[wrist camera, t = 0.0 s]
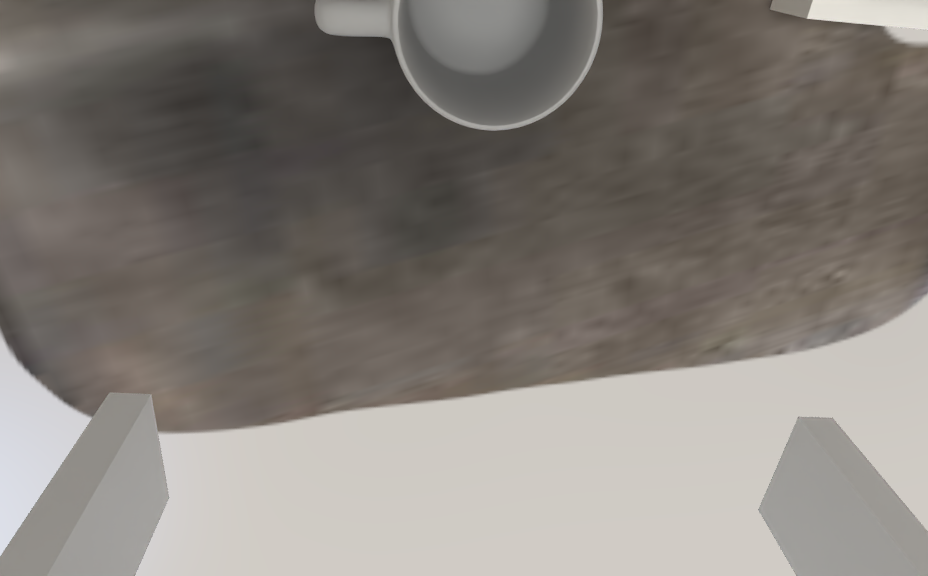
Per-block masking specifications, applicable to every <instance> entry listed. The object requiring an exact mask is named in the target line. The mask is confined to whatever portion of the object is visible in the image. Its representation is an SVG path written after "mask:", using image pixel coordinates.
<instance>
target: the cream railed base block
mask: <svg viewBox="0 0 928 576" xmlns="http://www.w3.org/2000/svg"><path fill="white" fill-rule="evenodd" d="M770 10H773V11H777V12H782V13H786V14H790V15H794V16H798V17H802V18H807V19H816V20H827V21H837V22H848V23H858V24H869V25H879V26H890V27H900V28H911V29H921V30H928V0H772V3H771V7H770Z"/></svg>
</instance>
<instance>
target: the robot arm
mask: <svg viewBox="0 0 928 576" xmlns="http://www.w3.org/2000/svg"><path fill="white" fill-rule="evenodd" d="M168 499H169V495H168V488H167V483H166V477H165V471H164V465H163V460H162V454H161V448H160V442H159V436H158V431H157V425H156V419H155V413H154V408H153V402H152V396H151V394H134V393H109V394H108V396H107V397H106V399H105V400H104V402H103V403H102V405H101V406H100V408H99V409H98V411H97V412H96V414H95V415H94V417H93V418H92V420H91V421H90V423H89V424H88V426H87V427H86V429H85V430H84V432H83V433H82V435H81V436H80V438H79V439H78V441H77V442H76V444H75V445H74V447H73V448H72V450H71V451H70V453H69V454H68V456H67V457H66V459H65V460H64V462H63V463H62V465H61V466H60V468H59V469H58V471H57V472H56V474H55V475H54V477H53V478H52V480H51V481H50V483H49V484H48V486H47V487H46V489H45V490H44V492H43V493H42V495H41V496H40V498H39V499H38V501H37V502H36V504H35V505H34V507H33V508H32V510H31V511H30V513H29V514H28V516H27V517H26V519H25V520H24V522H23V523H22V525H21V526H20V528H19V529H18V531H17V532H16V534H15V535H14V537H13V538H12V540H11V541H10V543H9V544H8V546H7V547H6V549H5V550H4V552H3V553H2V555H1V556H0V576H135V574H136V572H137V570H138V567H139V565H140V563H141V560H142V558H143V556H144V554H145V551H146V549H147V547H148V545H149V542H150V540H151V538H152V535H153V533H154V531H155V528H156V526H157V524H158V522H159V520H160V517H161V515H162V513H163V510H164V508H165V506H166V504H167V501H168ZM758 510H759V512H760V513H761V515H762V517H763V519H764V520H765V522H766V524H767V526H768V527H769V529H770V530H771V532H772V534H773V536H774V538H775V539H776V541H777V543H778V545H779V546H780V548H781V550H782V551H783V553H784V555H785V557H786V558H787V560H788V562H789V564H790V565H791V567H792V569H793V570H794V572H795V574H796V576H928V531H927V530H926V529H925V528H924V526H923V525H922V524H921V523H920V522H919V521H918V519H917V518H916V517H915V516H914V515H913V513H912V512H911V511H910V510H909V509H908V507H907V506H906V505H905V504H904V503H903V501H902V500H901V499H900V498H899V497H898V495H897V494H896V493H895V492H894V491H893V489H892V488H891V487H890V486H889V485H888V483H887V482H886V481H885V480H884V479H883V478H882V476H881V475H880V474H879V473H878V472H877V470H876V469H875V468H874V467H873V466H872V464H871V463H870V462H869V461H868V460H867V458H866V457H865V456H864V455H863V454H862V452H861V451H860V450H859V449H858V448H857V446H856V445H855V444H854V443H853V442H852V441H851V440H850V438H849V437H848V436H847V435H846V433H845V432H844V431H843V430H842V429H841V427H840V426H839V425H838V424H837V423H836V421H835V420H834V419H833V418H819V417H798V419H797V421H796V424H795V426H794V428H793V431H792V433H791V435H790V438H789V440H788V442H787V444H786V447H785V449H784V451H783V454H782V456H781V458H780V461H779V463H778V465H777V468H776V470H775V472H774V475H773V477H772V479H771V482H770V484H769V486H768V489H767V491H766V493H765V495H764V498H763V500H762V502H761V505H760V507H759V509H758Z"/></svg>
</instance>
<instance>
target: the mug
mask: <svg viewBox="0 0 928 576" xmlns="http://www.w3.org/2000/svg"><path fill="white" fill-rule="evenodd" d="M315 19H316V23H317V25H318V27H319V28H320V29H321V30H322V31H324V32H325V33H327V34H331V35H339V36H359V37H386V38H389V39H391V41H392V43H393V45H394V48H395V52H396V55H397V58H398V61H399V63H400V66H401V68H402V70H403V72H404V74H405V76H406V78H407V80H408V81H409V83H410V84H411V86H412V87H413V89H414V90H415V92H416V93H417V94H418V95H419V96H420V97H421V98H422V100H423V101H424V102H425V103H426V104H428V105H429V106H430V107H431V108H432V109H433V110H435V111H436V112H438V113H439V114H441V115H442V116H444V117H445V118H447V119H449V120H451V121H453V122H455V123H458V124H461V125H463V126H466V127H470V128H475V129H480V130H493V131H495V130H508V129H513V128H518V127H522V126H525V125H528V124H531V123H533V122H535V121H537V120H539V119H541V118H543V117H545V116H547V115H548V114H550V113H551V112H553V111H554V110H556V109H557V108H558V107H559V106H560V105H562V104H563V103H564V102H565V101H566V100H567V99H568V98H569V97H570V96H571V95H572V94H573V93H574V92H575V90H576V89H577V88H578V86H579V85H580V84H581V82H582V81H583V79H584V78H585V76H586V74H587V73H588V71H589V69H590V67H591V65H592V62H593V60H594V58H595V55H596V52H597V49H598V45H599V42H600V37H601V31H602V22H603V4H602V0H316V3H315Z"/></svg>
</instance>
